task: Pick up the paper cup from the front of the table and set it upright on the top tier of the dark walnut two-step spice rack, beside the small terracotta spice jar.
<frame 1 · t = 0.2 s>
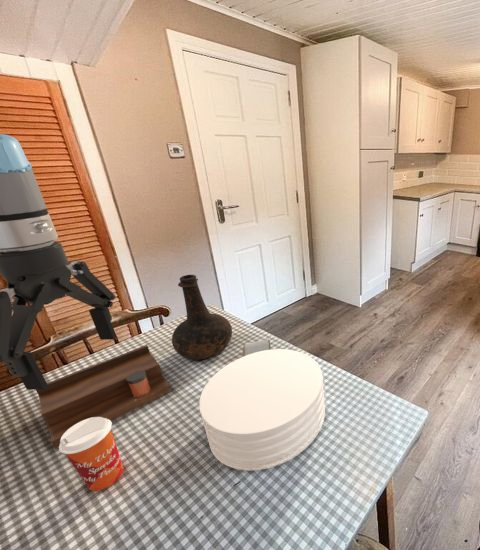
hand: (77, 360, 54), 29 cm above the table, tool pointing down, fingers open, 13 cm apart
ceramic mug: (260, 365, 97), on the table
spice rack: (115, 407, 81), on the table
plate stack: (270, 419, 77), on the table
glass bottle: (207, 351, 104), on the table
paper cup: (108, 479, 63), on the table
small spice jar: (141, 391, 82), point 3 cm above the table, touching spice rack
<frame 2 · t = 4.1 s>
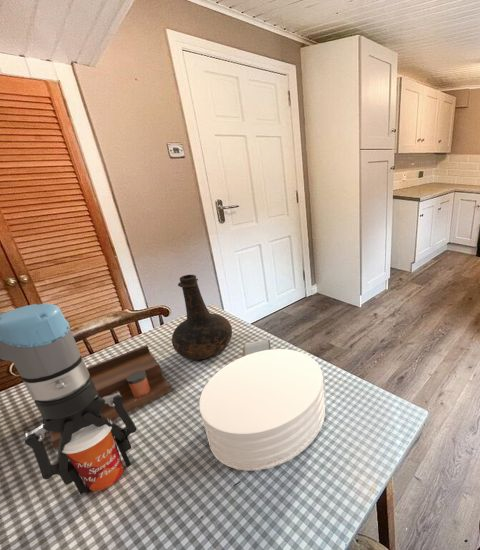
hand: (105, 474, 63), 2 cm above the table, tool pointing down, fingers closed on paper cup, 7 cm apart
paper cup: (108, 479, 63), on the table, touching gripper
everything else where it was.
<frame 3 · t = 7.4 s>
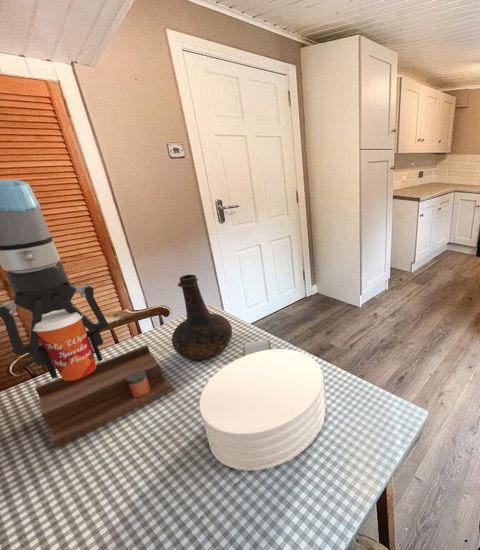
hand: (77, 365, 65), 21 cm above the table, tool pointing down, fingers closed on paper cup, 7 cm apart
paper cup: (80, 372, 66), point 19 cm above the table, touching gripper
everything else where it was.
when the fingers open (8 cm above the table, at t = 11.0 s): paper cup stays where it is, resting on spice rack.
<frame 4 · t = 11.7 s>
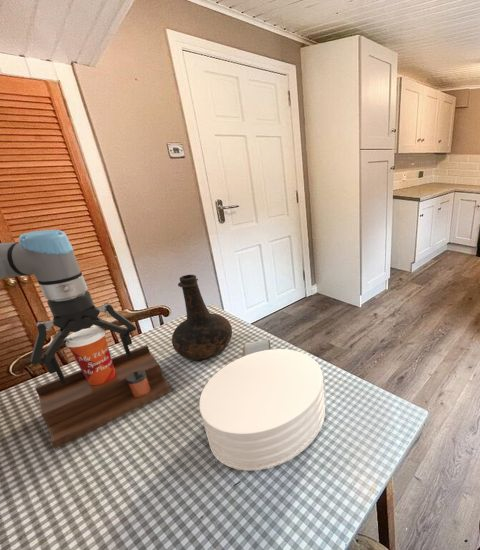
hand: (98, 367, 80), 11 cm above the table, tool pointing down, fingers open, 13 cm apart
paper cup: (103, 378, 82), point 7 cm above the table, touching spice rack
everything else where it was.
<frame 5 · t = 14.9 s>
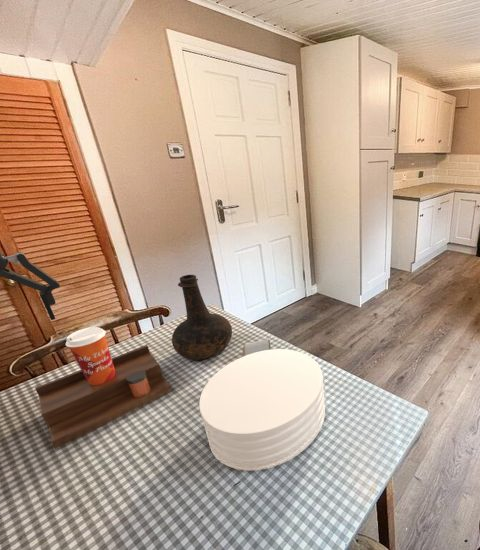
hand: (10, 329, 68), 27 cm above the table, tool pointing down, fingers open, 13 cm apart
nothing on the table moved.
at the end: paper cup 0.1 cm from the target spot on the spice rack, point 6.8 cm above the spice rack's base; paper cup tilted 0°; the gripper is holding nothing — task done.
